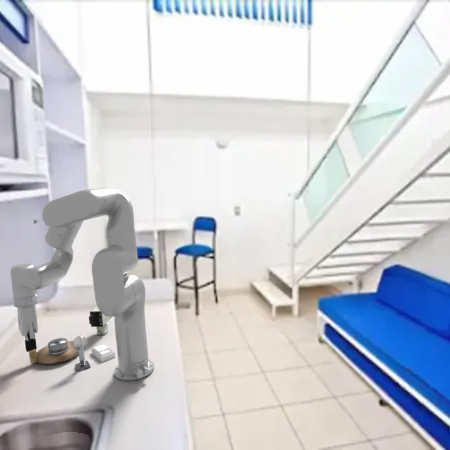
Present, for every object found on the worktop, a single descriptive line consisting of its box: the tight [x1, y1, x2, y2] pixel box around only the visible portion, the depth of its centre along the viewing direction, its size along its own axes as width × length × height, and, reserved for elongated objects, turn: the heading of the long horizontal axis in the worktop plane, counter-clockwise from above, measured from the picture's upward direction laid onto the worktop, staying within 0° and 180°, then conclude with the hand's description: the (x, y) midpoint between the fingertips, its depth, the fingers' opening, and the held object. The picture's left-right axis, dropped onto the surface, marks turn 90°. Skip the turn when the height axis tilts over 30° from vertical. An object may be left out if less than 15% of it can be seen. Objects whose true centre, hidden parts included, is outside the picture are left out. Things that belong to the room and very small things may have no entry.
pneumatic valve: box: [88, 306, 112, 336], centre depth 153 cm, size 6×12×12 cm, turn 174°
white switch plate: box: [91, 343, 116, 362], centre depth 134 cm, size 5×9×3 cm, turn 41°
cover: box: [47, 337, 69, 355], centre depth 135 cm, size 7×7×4 cm
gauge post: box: [72, 335, 91, 372], centre depth 126 cm, size 4×4×11 cm
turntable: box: [28, 340, 79, 365], centre depth 135 cm, size 17×15×4 cm
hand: (31, 349), depth 132 cm, fingers closed
